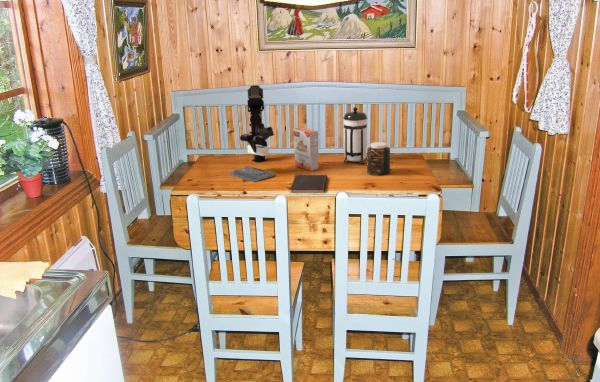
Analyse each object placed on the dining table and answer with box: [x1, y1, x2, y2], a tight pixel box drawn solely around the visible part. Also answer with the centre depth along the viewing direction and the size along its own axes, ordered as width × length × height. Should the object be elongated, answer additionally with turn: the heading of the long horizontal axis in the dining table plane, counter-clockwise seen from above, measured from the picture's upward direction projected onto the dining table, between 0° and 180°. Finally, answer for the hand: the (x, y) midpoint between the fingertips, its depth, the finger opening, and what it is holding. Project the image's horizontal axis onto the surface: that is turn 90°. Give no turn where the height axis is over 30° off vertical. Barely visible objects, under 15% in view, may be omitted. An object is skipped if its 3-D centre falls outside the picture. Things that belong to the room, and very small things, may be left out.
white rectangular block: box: [247, 144, 270, 157], centre depth 291 cm, size 12×4×4 cm, turn 46°
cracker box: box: [293, 126, 320, 172], centre depth 297 cm, size 14×6×21 cm, turn 37°
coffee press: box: [342, 107, 368, 165], centre depth 303 cm, size 17×16×30 cm
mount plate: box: [227, 165, 276, 183], centre depth 290 cm, size 21×14×3 cm, turn 44°
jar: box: [366, 141, 391, 176], centre depth 284 cm, size 12×12×15 cm
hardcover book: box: [289, 174, 329, 194], centre depth 270 cm, size 16×23×2 cm
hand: (258, 151), depth 291 cm, fingers closed on white rectangular block, 4 cm apart
